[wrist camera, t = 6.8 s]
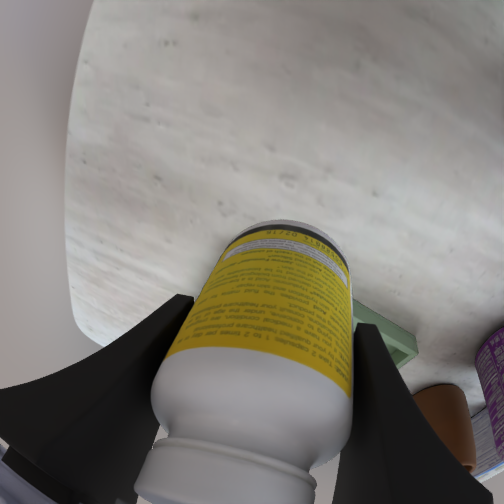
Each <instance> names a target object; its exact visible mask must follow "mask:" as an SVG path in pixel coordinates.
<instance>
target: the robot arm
mask: <svg viewBox="0 0 504 504" xmlns="http://www.w3.org/2000/svg"><path fill="white" fill-rule="evenodd" d="M193 305H194V297H191V296H186V295H181V294H176V295H175V296H174V297H172V298H171V299H170V300H168V301H167V302H166V303H164V304H163V305H162V306H161V307H159V308H158V309H157V310H156V311H154V312H153V313H152V314H150V315H149V316H148V317H147V318H145V319H144V320H143V321H141V322H140V323H139V324H137V325H136V326H135V327H133V328H132V329H131V330H129V331H128V332H126V333H125V334H123V335H122V336H121V337H119V338H118V339H116V340H115V341H113V342H112V343H110V344H109V345H107V346H106V347H104V348H103V349H101V350H99V351H98V352H96V353H94V354H92V355H90V356H89V357H87V358H85V359H83V360H81V361H79V362H77V363H75V364H73V365H71V366H69V367H67V368H64V369H62V370H60V371H58V372H56V373H53V374H50V375H48V376H45V377H43V378H40V379H37V380H34V381H31V382H28V383H24V384H20V385H17V386H12V387H8V388H4V389H0V437H1V438H2V439H3V440H4V441H5V442H6V443H7V444H9V445H10V446H9V448H8V449H6V448H4V447H3V446H2V445H1V444H0V504H136V503H137V498H138V494H137V493H136V492H135V491H134V484H135V482H136V480H137V478H138V476H139V473H140V471H141V469H142V467H143V464H144V462H145V460H146V457H147V454H148V452H149V451H150V450H151V449H152V446H153V443H154V440H155V437H156V435H157V431H158V429H159V426H160V423H159V422H158V420H157V418H156V416H155V414H154V411H153V408H152V404H151V388H152V384H153V381H154V378H155V376H156V374H157V372H158V370H159V368H160V365H161V363H162V361H163V359H164V357H165V355H166V353H167V351H168V349H169V348H170V347H171V345H172V343H173V341H174V339H175V337H176V336H177V334H178V332H179V330H180V328H181V327H182V325H183V323H184V321H185V320H186V318H187V316H188V314H189V312H190V311H191V309H192V307H193ZM340 452H341V453H340V462H339V468H338V474H337V480H336V486H335V491H334V496H333V501H332V504H493V496H492V493H491V492H489V490H487V489H486V488H485V487H484V486H483V485H482V484H481V483H480V482H479V481H478V480H477V479H475V478H474V477H473V476H472V475H471V474H470V473H469V472H468V471H467V470H466V468H465V467H464V466H463V465H462V464H461V463H460V462H459V461H458V460H457V459H456V458H455V456H454V455H453V454H452V453H451V451H450V450H449V449H448V448H447V446H446V445H445V444H444V443H443V442H442V440H441V439H440V438H439V436H438V435H437V434H436V432H435V431H434V429H433V428H432V427H431V425H430V424H429V422H428V421H427V419H426V418H425V416H424V415H423V413H422V412H421V410H420V408H419V407H418V405H417V403H416V402H415V400H414V398H413V397H412V395H411V393H410V391H409V390H408V388H407V386H406V384H405V382H404V380H403V379H402V377H401V375H400V373H399V371H398V369H397V367H396V365H395V363H394V361H393V359H392V357H391V355H390V353H389V351H388V349H387V347H386V344H385V342H384V340H383V338H382V336H381V334H380V332H379V329H378V327H377V326H376V324H369V323H360V322H358V323H357V326H356V329H355V332H354V386H353V419H352V428H351V433H350V437H349V439H348V441H347V443H346V445H345V446H344V448H343V449H342V450H341V451H340Z"/></svg>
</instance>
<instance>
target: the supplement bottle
mask: <svg viewBox="0 0 504 504" xmlns="http://www.w3.org/2000/svg"><path fill="white" fill-rule="evenodd" d="M353 386H354V333H353V303H352V284H351V273H350V268H349V265H348V262H347V259H346V257H345V255H344V253H343V251H342V250H341V249H340V247H339V246H338V245H337V244H336V243H335V241H334V240H333V239H332V238H330V237H329V236H328V235H327V234H325V233H324V232H322V231H321V230H319V229H317V228H315V227H313V226H311V225H308V224H306V223H302V222H298V221H293V220H271V221H266V222H262V223H258V224H256V225H253V226H251V227H249V228H247V229H245V230H244V231H242V232H241V233H240V234H238V235H237V236H236V237H235V238H234V239H233V240H232V241H231V242H230V244H229V245H228V247H227V248H226V249H225V251H224V253H223V254H222V256H221V257H220V259H219V261H218V263H217V265H216V266H215V268H214V270H213V272H212V273H211V275H210V277H209V279H208V280H207V282H206V283H205V285H204V287H203V289H202V291H201V293H200V295H199V296H198V298H197V300H196V301H195V303H194V305H193V307H192V309H191V311H190V312H189V314H188V316H187V318H186V320H185V321H184V323H183V325H182V327H181V328H180V330H179V332H178V334H177V336H176V337H175V339H174V341H173V343H172V345H171V347H170V348H169V349H168V351H167V353H166V355H165V357H164V359H163V361H162V363H161V365H160V368H159V370H158V372H157V374H156V376H155V378H154V381H153V384H152V388H151V404H152V408H153V411H154V414H155V416H156V418H157V420H158V422H159V423H160V425H161V426H162V427H163V428H164V430H165V431H166V432H167V433H168V434H169V435H168V437H167V438H163V439H160V440H158V441H157V442H155V444H154V445H153V449H151V450H150V451H149V452H148V454H147V457H146V460H145V462H144V464H143V467H142V469H141V471H140V473H139V476H138V478H137V480H136V482H135V484H134V491H135V492H136V493H137V494H138V495H140V496H141V497H142V498H144V499H145V500H147V501H149V502H151V503H152V504H314V500H315V491H314V490H315V488H316V486H317V483H316V480H315V479H314V478H313V477H312V476H311V475H310V474H309V470H310V469H313V468H316V467H319V466H321V465H323V464H325V463H327V462H328V461H330V460H331V459H332V458H334V457H335V456H336V455H337V454H338V453H339V452H340V451H341V450H342V449H343V448H344V446H345V445H346V443H347V441H348V439H349V437H350V433H351V428H352V419H353Z"/></svg>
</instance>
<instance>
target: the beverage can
mask: <svg viewBox="0 0 504 504" xmlns="http://www.w3.org/2000/svg"><path fill="white" fill-rule="evenodd" d="M475 367H476V370H477V373H478V377H479V380H480V383H481V387H482V390H483V394H484V398H485V402H486V406H487V410H488V414H489V418H490V422H491V427H492V432H493V437H494V442H495V447H496V452H497V455H498V456H499V457H500V458H501V460H502V461H503V462H504V327H503V328H501V329H500V330H498V331H497V332H495V333H494V334H493V335H492V336H491V337H490V338H489V339H488V340H487V341H486V342H485V343H484V344H483V345H482V347H481V348H480V350H479V351H478V353H477V356H476V359H475Z"/></svg>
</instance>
